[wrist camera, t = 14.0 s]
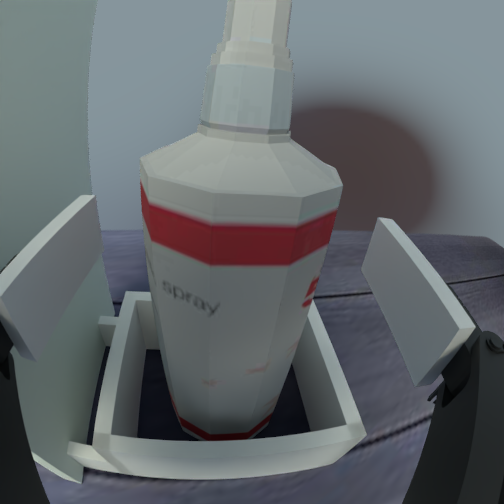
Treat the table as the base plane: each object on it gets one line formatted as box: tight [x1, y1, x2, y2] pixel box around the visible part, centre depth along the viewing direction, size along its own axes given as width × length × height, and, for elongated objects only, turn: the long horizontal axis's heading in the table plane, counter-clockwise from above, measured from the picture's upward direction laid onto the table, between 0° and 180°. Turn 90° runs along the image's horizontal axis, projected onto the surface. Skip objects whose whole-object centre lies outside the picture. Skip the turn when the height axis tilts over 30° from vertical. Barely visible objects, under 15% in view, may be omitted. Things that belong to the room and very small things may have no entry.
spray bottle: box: [140, 0, 343, 441], centre depth 14 cm, size 8×8×25 cm
